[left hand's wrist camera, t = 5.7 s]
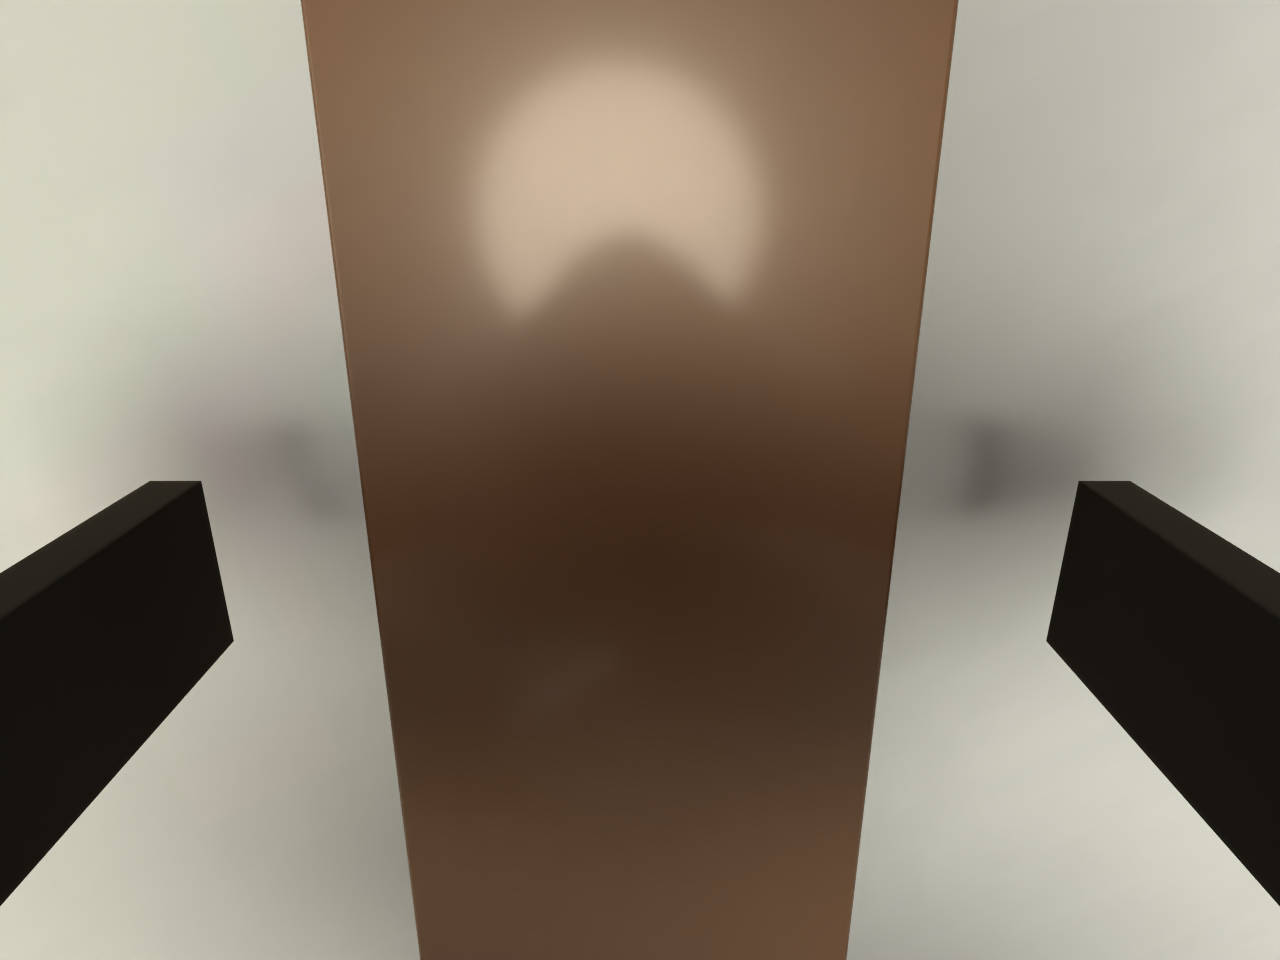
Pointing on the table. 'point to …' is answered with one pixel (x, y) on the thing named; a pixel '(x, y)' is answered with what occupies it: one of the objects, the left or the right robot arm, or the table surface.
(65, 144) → the table surface
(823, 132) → the post
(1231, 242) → the table surface
